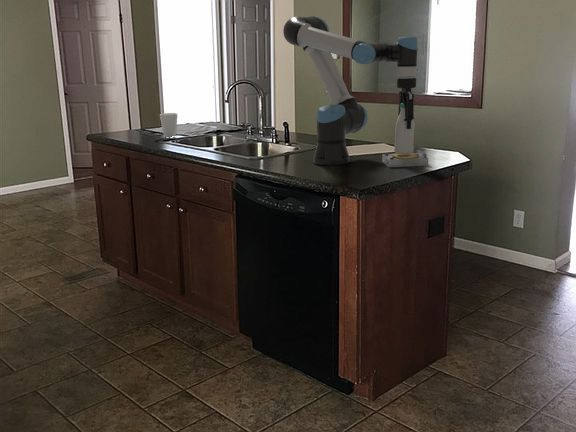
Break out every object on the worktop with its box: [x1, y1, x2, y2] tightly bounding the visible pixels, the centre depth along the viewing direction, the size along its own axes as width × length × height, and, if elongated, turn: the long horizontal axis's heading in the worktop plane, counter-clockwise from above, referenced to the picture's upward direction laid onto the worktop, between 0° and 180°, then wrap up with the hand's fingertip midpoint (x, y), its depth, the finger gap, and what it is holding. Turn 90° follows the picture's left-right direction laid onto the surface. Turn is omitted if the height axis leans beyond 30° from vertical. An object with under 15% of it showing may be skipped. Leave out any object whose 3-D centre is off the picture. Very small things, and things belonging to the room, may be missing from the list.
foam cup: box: [159, 112, 178, 138], centre depth 334 cm, size 10×9×13 cm
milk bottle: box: [393, 103, 416, 154], centre depth 244 cm, size 8×8×20 cm
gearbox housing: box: [382, 149, 429, 168], centre depth 248 cm, size 16×12×4 cm
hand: (405, 135), depth 245 cm, fingers closed on milk bottle, 7 cm apart
